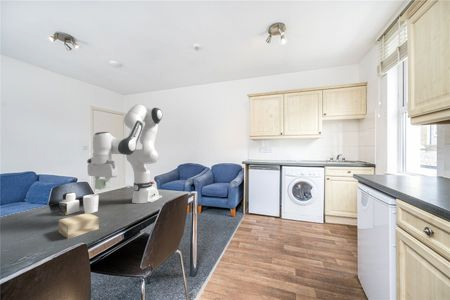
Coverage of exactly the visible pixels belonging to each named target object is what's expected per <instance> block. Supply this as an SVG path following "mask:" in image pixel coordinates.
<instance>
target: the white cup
mask: <svg viewBox="0 0 450 300" xmlns="http://www.w3.org/2000/svg"><path fill="white" fill-rule="evenodd" d="M99 196H100V195H99V194H97V193H95V194H94V193H93V194H86V195H84V196H82V201H83V202H82V203H83V210H84V213H83V214H85V213H90V214H93V213H96V212H98V210H99Z"/></svg>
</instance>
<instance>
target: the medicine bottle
mask: <svg viewBox="0 0 450 300" xmlns="http://www.w3.org/2000/svg"><path fill="white" fill-rule="evenodd" d="M76 198H77V196H76V192H65V193H63V195H62V201H59V202H58V214H60V215H64V214H65V216H68V215H71V214H75V213H77V212H80V199H76Z"/></svg>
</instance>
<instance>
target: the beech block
mask: <svg viewBox="0 0 450 300" xmlns="http://www.w3.org/2000/svg"><path fill="white" fill-rule="evenodd" d="M99 219H100V217H99V216H97V215H95V214H93V213H82V214H81V213H80V214H77V215H74V216H69V217H64V218H62V219H59V220H58V233H60V234H61V235H62V236H63V237H65V238H66V239H67V240H69V239H72V238H76V237H78V236H81V235H84V234H87V233H91V232H93V231H96V230H99V229H100V227H99V226H100V221H99Z"/></svg>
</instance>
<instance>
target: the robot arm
mask: <svg viewBox="0 0 450 300" xmlns="http://www.w3.org/2000/svg"><path fill="white" fill-rule="evenodd" d="M162 118H163V111H162V109H161V108H158V107H152V106H151V107H150V106H149V107H148V106H144V105H143V104H140V103H139V104H135V105H133V106H132V107H131V108H130V109H128V111H127V113H126V114H125V115H124V118H123V122H124V124H125V126H126V127H128V128H129V129H130V131H129V133H128V135H127V136H125V137H124V138H122V137H121V138H117V137H115V136H113V135H112V134H111V133H110V132H109V131H101V132H100V131H99V132H98V131H97V132H95V133H94V135H93V137H92V138H93V139H92V150H93V154H92V157H90V158H88V159H87V160H86V162H87V175H88V176H89V177H94V181H95V180H98V179H101V178H104V179H106V180H105V182H104V185H109V180H111V178H116V177H118V167H117V163H116V162H115V161H114V160H112V155H124V156H125V158H126V161H127V162H129V164H130V165H131V168H132V170H133V178H134V179H133V195H132V200H131V203H132V204H148V203H154V202H156V201H157V200H159V199H161V198H163V195H161V194H159V193H160V192H159V190H158V189H157V188H156V187H154V186H153V185H155V181H151V171H150V170H149V169H148V168H147V166H146V165H151V164H155V163H157V162H158V160H159V153H158V151H157V150H156V148H155V142H156V139H157V135H158V130H159V124H160V122H161V121H162ZM143 122H144V123H145V124H143ZM138 140H139V144H141V145H142V146H141V149H139V148H137V144H138Z"/></svg>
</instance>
